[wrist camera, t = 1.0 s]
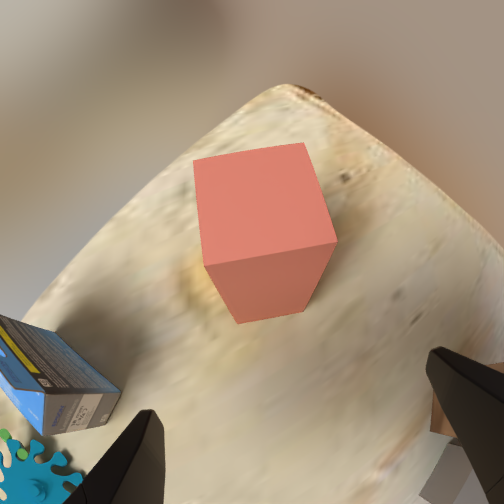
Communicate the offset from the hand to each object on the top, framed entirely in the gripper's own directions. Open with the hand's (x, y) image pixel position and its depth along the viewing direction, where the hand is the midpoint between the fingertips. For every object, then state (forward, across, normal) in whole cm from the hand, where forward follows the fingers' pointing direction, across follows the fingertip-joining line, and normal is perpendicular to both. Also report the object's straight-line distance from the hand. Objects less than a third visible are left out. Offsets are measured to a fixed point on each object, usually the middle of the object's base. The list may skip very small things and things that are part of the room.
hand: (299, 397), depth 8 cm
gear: (+4, +22, +15) cm, 27 cm away
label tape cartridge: (+11, +17, +8) cm, 22 cm away
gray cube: (+1, -13, +18) cm, 22 cm away
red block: (+15, 0, +4) cm, 15 cm away
